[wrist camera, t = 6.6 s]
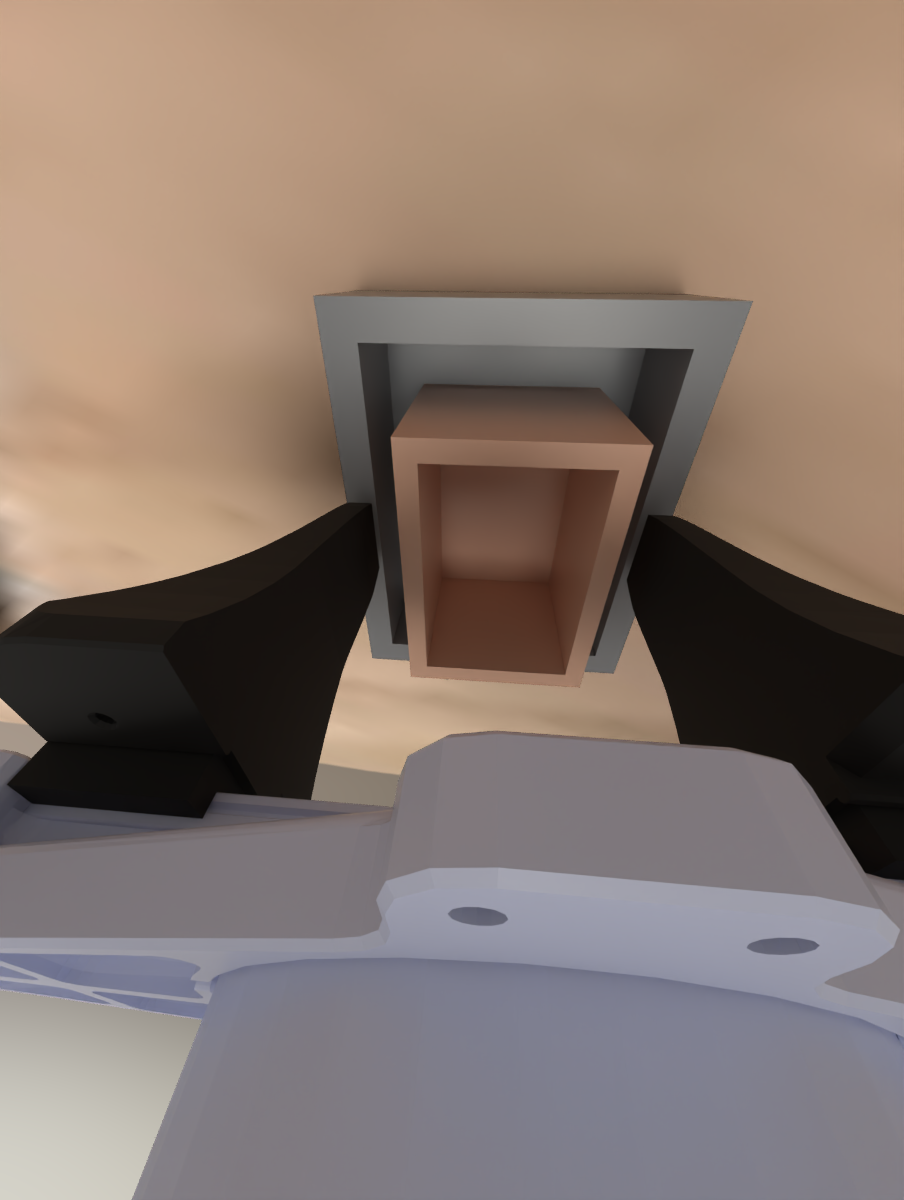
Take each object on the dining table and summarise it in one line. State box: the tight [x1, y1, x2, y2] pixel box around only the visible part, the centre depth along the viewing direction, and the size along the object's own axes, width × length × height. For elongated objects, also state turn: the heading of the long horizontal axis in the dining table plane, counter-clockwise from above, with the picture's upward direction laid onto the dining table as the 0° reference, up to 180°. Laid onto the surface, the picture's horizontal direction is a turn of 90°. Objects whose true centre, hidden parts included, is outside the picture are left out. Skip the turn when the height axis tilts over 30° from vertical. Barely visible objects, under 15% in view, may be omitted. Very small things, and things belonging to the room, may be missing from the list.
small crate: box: [391, 384, 653, 688], centre depth 12 cm, size 5×7×5 cm
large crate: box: [313, 291, 753, 673], centre depth 13 cm, size 9×11×4 cm
